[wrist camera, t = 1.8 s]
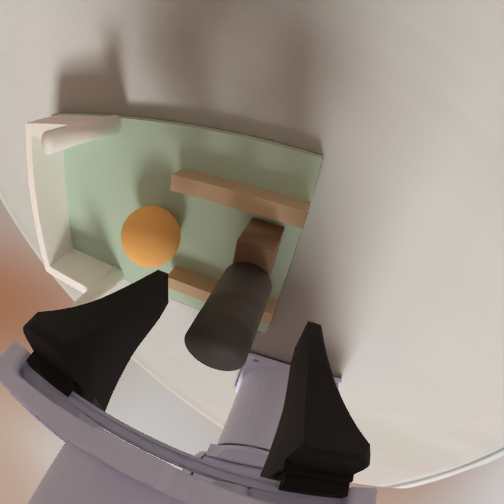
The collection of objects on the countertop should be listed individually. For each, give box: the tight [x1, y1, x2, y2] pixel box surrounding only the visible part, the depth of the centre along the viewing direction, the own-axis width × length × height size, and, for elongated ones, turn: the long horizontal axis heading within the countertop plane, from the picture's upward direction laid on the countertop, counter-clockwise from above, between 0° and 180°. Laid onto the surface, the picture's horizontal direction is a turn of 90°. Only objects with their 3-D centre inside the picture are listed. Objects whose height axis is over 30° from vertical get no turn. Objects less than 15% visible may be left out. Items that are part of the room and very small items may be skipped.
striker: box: [185, 217, 285, 371], centre depth 15 cm, size 3×5×8 cm, turn 169°
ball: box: [121, 206, 181, 267], centre depth 17 cm, size 4×4×4 cm
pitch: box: [26, 113, 323, 333], centre depth 17 cm, size 22×14×7 cm, turn 79°
